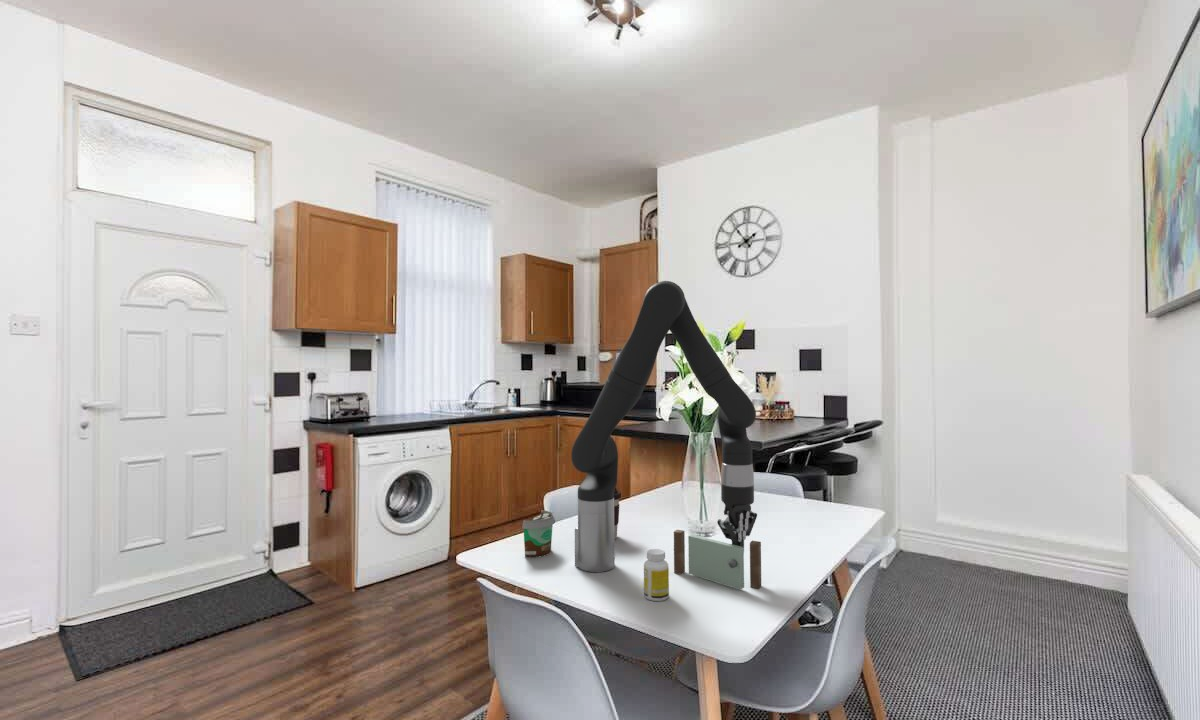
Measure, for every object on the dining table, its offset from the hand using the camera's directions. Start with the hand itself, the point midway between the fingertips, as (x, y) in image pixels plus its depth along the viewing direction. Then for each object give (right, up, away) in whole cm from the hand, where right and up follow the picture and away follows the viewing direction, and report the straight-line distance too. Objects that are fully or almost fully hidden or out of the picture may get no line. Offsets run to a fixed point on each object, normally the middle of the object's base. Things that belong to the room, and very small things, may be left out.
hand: (738, 555), depth 130 cm
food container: (-48, -7, +20) cm, 53 cm away
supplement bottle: (-20, -6, -10) cm, 23 cm away
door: (-6, -5, -2) cm, 8 cm away
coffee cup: (-31, -7, +33) cm, 46 cm away
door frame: (-5, -5, 0) cm, 8 cm away
